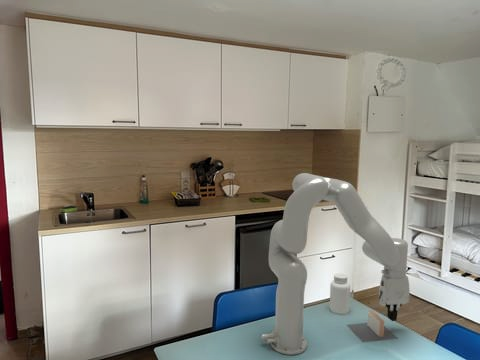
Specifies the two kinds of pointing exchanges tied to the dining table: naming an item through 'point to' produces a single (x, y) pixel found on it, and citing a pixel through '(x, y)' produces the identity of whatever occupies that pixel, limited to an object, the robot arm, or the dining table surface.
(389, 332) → the mat
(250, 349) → the dining table surface
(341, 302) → the pill bottle
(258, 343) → the dining table surface
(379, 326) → the tile
